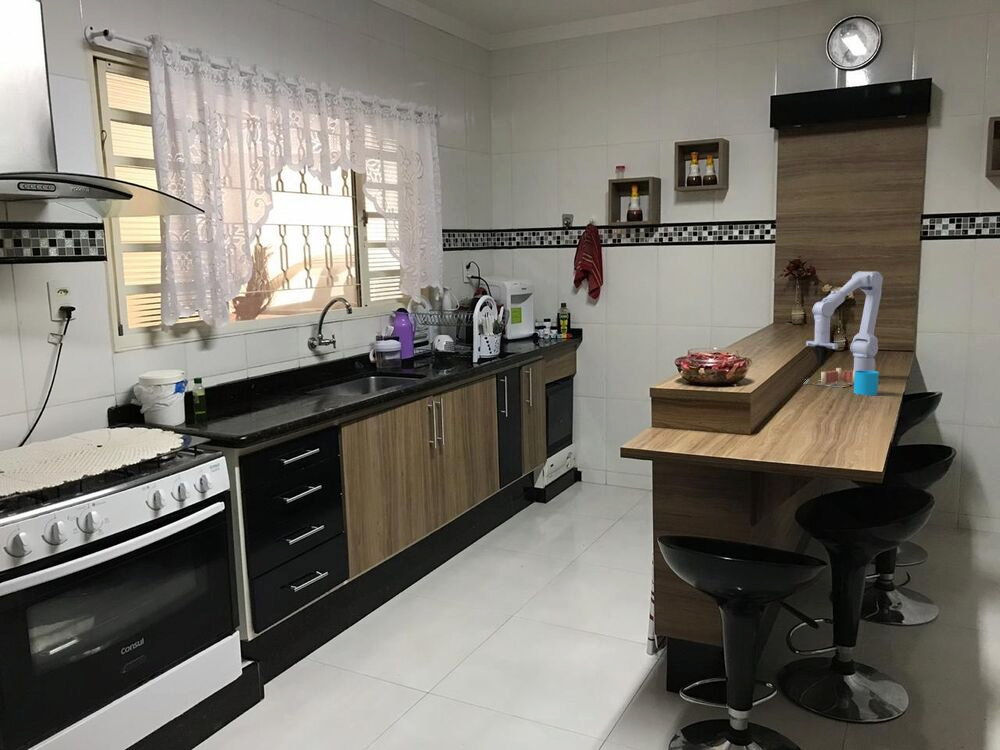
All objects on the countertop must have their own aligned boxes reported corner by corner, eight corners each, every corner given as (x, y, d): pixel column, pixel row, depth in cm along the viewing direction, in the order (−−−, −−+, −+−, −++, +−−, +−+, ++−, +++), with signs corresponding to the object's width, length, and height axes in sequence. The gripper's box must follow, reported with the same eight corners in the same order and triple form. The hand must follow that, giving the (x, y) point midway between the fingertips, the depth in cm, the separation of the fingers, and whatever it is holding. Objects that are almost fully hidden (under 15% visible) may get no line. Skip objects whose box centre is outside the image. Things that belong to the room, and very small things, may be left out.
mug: (875, 396, 297) (876, 374, 296) (851, 394, 301) (852, 372, 300) (881, 391, 307) (882, 370, 305) (857, 389, 311) (858, 368, 310)
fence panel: (834, 381, 327) (834, 369, 326) (838, 382, 325) (838, 370, 325) (819, 384, 320) (820, 372, 320) (824, 385, 319) (824, 372, 318)
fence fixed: (834, 383, 327) (835, 368, 326) (836, 382, 328) (837, 367, 328) (856, 385, 321) (856, 370, 320) (858, 384, 323) (858, 369, 322)
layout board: (818, 376, 344) (818, 375, 344) (865, 381, 331) (865, 380, 331) (794, 383, 328) (794, 382, 328) (843, 388, 314) (843, 387, 314)
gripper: (801, 330, 333) (800, 363, 336) (829, 333, 321) (828, 367, 323) (813, 329, 337) (812, 362, 339) (842, 332, 324) (840, 366, 326)
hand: (821, 365), depth 331 cm, fingers closed
